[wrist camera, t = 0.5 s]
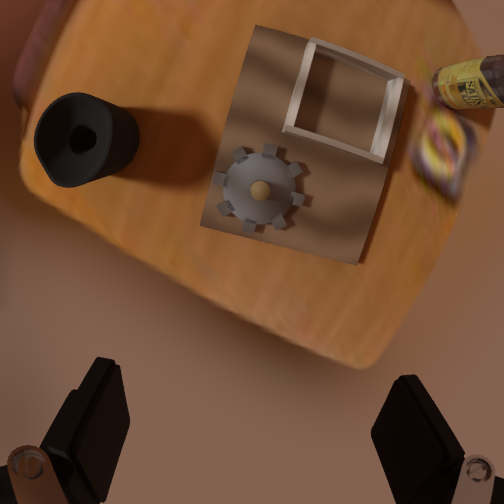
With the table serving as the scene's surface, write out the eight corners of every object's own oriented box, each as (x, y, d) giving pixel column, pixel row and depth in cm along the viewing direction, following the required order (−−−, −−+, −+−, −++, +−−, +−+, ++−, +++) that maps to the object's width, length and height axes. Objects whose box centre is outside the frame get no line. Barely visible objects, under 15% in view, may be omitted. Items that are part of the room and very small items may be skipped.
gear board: (255, 29, 31) (256, 14, 27) (404, 82, 33) (422, 76, 29) (201, 222, 39) (195, 232, 34) (352, 261, 41) (365, 275, 36)
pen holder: (148, 104, 34) (118, 91, 24) (138, 180, 37) (106, 191, 27) (81, 103, 33) (39, 95, 24) (74, 174, 36) (30, 184, 27)
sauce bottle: (424, 94, 34) (532, 75, 15) (436, 59, 32) (536, 28, 13) (458, 119, 35) (566, 120, 16) (469, 85, 33) (570, 73, 14)
